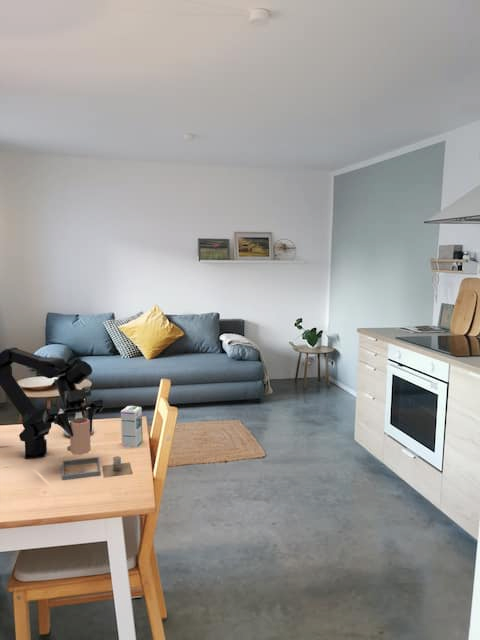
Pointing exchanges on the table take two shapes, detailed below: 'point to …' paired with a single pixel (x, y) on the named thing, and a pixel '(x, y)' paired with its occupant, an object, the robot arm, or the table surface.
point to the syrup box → (131, 426)
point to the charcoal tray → (81, 475)
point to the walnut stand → (117, 468)
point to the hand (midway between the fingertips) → (81, 434)
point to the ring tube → (80, 436)
